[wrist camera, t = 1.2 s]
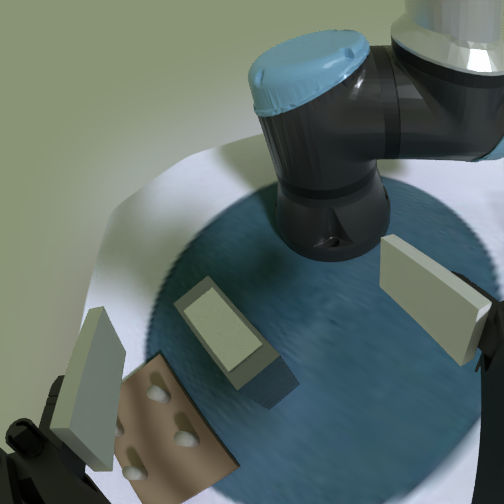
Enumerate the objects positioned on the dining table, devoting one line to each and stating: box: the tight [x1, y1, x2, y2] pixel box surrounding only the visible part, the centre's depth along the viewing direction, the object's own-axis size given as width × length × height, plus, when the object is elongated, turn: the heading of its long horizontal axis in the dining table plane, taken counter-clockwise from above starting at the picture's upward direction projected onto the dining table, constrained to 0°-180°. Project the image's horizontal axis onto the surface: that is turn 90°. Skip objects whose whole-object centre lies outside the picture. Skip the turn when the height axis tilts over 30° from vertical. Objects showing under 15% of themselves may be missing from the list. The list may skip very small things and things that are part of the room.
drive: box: [173, 276, 300, 410], centre depth 28 cm, size 4×10×10 cm, turn 38°
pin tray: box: [114, 354, 241, 504], centre depth 28 cm, size 12×16×4 cm
